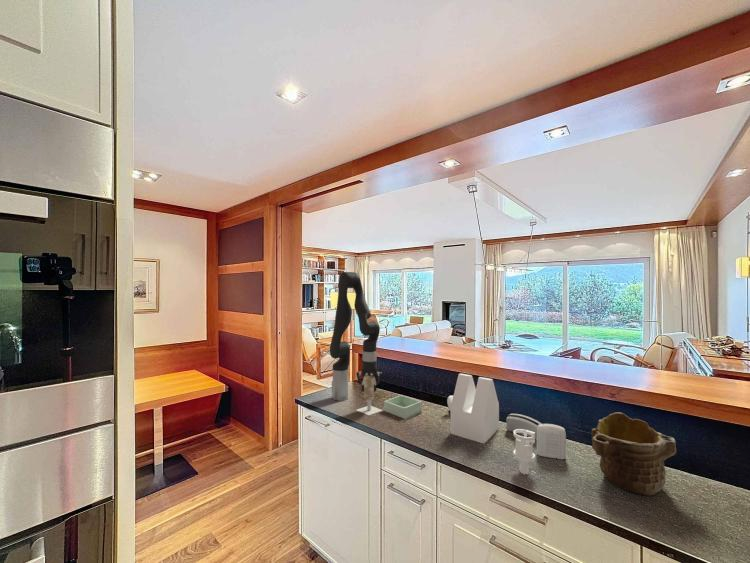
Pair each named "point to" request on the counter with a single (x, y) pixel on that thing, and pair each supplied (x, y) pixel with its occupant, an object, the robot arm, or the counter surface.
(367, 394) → the strut
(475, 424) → the white notched block
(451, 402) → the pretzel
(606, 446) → the ceramic vessel
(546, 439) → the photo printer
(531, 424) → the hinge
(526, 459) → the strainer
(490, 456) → the counter surface
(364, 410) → the stud base
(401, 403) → the bin
